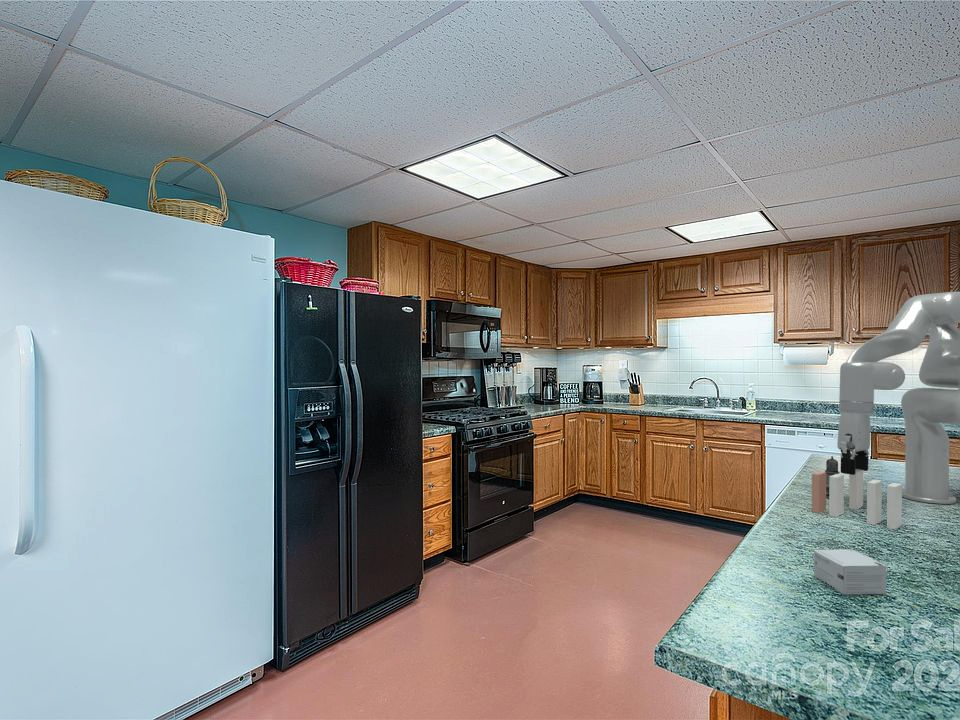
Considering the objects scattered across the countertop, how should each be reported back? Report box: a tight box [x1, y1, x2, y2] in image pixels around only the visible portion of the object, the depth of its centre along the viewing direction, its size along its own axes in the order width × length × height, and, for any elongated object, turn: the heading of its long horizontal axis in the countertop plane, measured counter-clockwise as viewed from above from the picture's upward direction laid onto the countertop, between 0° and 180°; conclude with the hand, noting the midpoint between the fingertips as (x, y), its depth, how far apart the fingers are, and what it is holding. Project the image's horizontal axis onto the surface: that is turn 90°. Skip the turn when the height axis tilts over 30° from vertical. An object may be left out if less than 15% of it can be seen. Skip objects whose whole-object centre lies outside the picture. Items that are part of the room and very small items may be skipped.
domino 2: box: [848, 469, 864, 511], centre depth 140 cm, size 5×2×10 cm, turn 127°
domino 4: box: [886, 482, 903, 530], centre depth 124 cm, size 5×2×10 cm, turn 127°
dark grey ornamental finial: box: [824, 455, 841, 499], centre depth 150 cm, size 6×6×12 cm
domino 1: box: [828, 473, 845, 518], centre depth 134 cm, size 5×2×10 cm, turn 127°
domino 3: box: [866, 479, 883, 526], centre depth 127 cm, size 5×2×10 cm, turn 127°
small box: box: [813, 548, 887, 595], centre depth 92 cm, size 8×8×5 cm
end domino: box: [811, 470, 827, 514], centre depth 137 cm, size 5×2×10 cm, turn 127°
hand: (854, 471), depth 139 cm, fingers open, 9 cm apart
